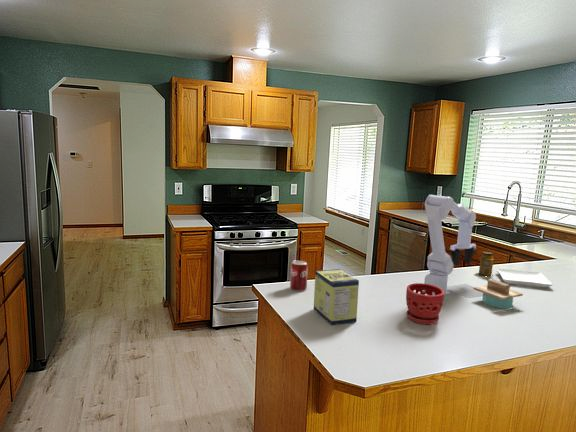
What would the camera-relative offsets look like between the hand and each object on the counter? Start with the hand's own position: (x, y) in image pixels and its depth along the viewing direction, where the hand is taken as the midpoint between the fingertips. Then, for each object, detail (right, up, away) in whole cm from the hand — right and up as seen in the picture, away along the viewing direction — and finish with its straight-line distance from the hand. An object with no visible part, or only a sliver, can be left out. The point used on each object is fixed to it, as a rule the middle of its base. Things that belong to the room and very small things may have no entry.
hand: (461, 264), depth 193 cm
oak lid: (+6, -9, -22) cm, 25 cm away
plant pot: (-32, -16, -41) cm, 54 cm away
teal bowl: (+6, -14, -22) cm, 27 cm away
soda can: (-77, -10, -12) cm, 79 cm away
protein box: (-64, -15, -40) cm, 77 cm away
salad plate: (+35, -11, +13) cm, 39 cm away
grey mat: (-1, -12, -7) cm, 14 cm away
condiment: (+20, -8, +21) cm, 30 cm away
